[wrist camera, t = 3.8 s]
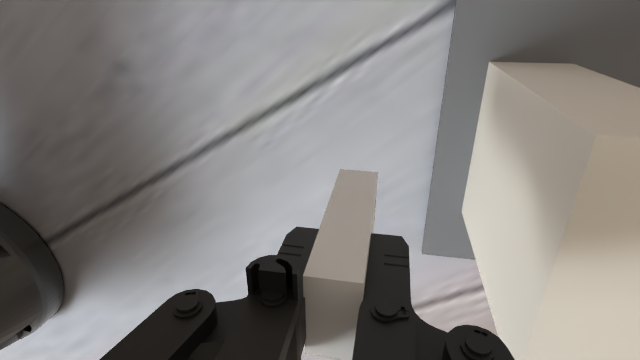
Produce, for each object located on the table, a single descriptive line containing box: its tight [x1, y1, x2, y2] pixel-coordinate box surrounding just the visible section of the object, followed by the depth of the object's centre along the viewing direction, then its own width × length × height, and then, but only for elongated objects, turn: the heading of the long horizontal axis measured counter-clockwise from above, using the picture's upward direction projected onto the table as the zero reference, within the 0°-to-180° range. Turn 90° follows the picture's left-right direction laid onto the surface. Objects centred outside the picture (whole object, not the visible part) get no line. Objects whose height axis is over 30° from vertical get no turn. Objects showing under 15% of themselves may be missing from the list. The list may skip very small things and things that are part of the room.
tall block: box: [462, 62, 640, 360], centre depth 16 cm, size 4×9×12 cm, turn 0°
